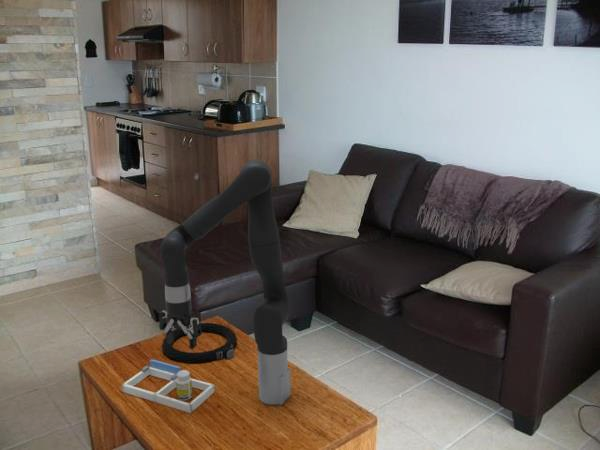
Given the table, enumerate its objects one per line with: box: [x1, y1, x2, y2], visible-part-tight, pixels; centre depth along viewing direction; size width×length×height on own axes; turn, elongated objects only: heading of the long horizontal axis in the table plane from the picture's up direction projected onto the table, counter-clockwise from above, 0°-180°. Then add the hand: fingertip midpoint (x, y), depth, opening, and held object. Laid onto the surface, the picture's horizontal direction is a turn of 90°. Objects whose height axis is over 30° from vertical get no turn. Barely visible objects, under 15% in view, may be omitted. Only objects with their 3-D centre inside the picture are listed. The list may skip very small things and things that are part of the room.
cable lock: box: [161, 322, 238, 364], centre depth 217 cm, size 28×4×30 cm
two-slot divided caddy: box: [121, 359, 216, 414], centre depth 188 cm, size 27×14×5 cm, turn 64°
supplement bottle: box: [176, 369, 193, 401], centre depth 184 cm, size 5×5×8 cm
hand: (181, 345), depth 180 cm, fingers open, 8 cm apart
